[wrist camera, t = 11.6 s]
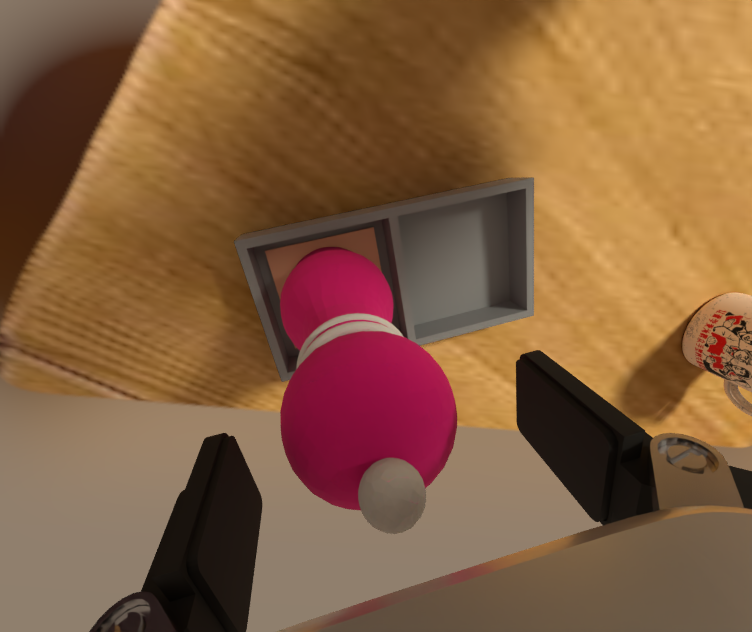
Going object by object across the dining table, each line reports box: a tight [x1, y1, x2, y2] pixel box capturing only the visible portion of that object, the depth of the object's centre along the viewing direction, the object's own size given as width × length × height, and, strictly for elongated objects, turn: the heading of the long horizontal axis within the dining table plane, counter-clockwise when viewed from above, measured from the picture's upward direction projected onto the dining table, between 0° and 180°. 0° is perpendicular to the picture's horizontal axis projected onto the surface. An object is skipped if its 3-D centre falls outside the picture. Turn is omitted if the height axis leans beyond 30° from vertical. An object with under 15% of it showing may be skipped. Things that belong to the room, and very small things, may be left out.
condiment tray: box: [234, 178, 534, 382], centre depth 27 cm, size 11×21×3 cm, turn 100°
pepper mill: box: [280, 247, 457, 534], centre depth 17 cm, size 7×7×20 cm
